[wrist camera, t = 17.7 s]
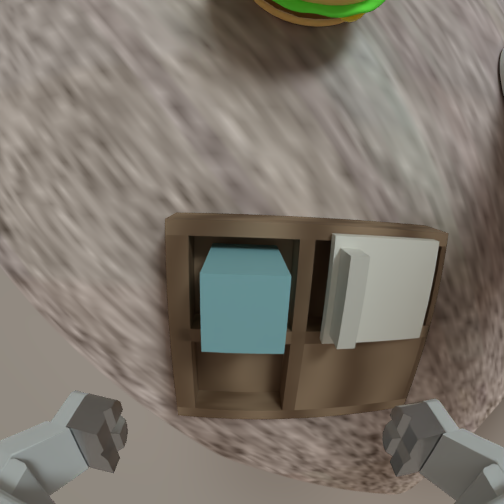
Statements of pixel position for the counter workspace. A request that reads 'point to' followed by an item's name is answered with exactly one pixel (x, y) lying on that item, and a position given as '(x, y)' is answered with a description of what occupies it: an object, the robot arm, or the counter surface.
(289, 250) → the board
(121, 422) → the robot arm
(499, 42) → the counter surface
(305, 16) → the hamburger
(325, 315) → the cover
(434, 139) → the counter surface
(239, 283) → the block
